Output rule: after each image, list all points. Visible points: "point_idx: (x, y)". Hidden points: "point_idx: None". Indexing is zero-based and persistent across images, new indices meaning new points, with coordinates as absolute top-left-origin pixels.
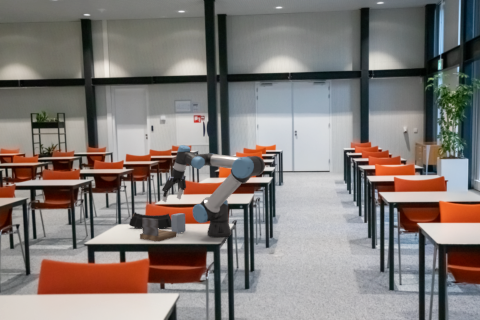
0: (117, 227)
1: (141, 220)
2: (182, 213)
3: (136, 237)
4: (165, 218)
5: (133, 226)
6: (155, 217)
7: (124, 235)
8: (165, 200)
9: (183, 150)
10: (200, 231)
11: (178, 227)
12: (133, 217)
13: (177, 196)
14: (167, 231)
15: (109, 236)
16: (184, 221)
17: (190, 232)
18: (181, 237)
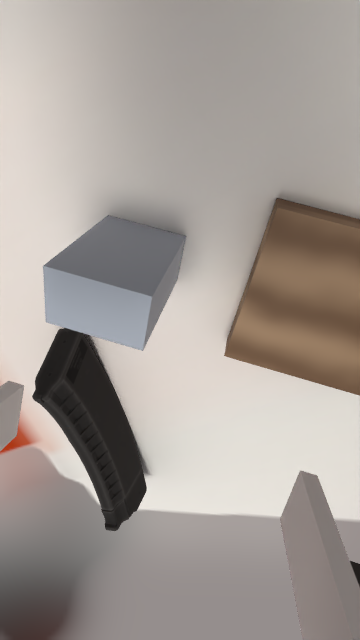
0: (146, 508)
1: (122, 473)
2: (47, 290)
3: (330, 404)
4: (70, 389)
5: (142, 472)
6: (87, 437)
7: (288, 458)
8: (323, 496)
9: None
10: (57, 104)
11: (164, 248)
12: (130, 510)
13: (3, 441)
14: (272, 279)
15: None
16: (85, 242)
17: (117, 166)
18: (301, 143)
